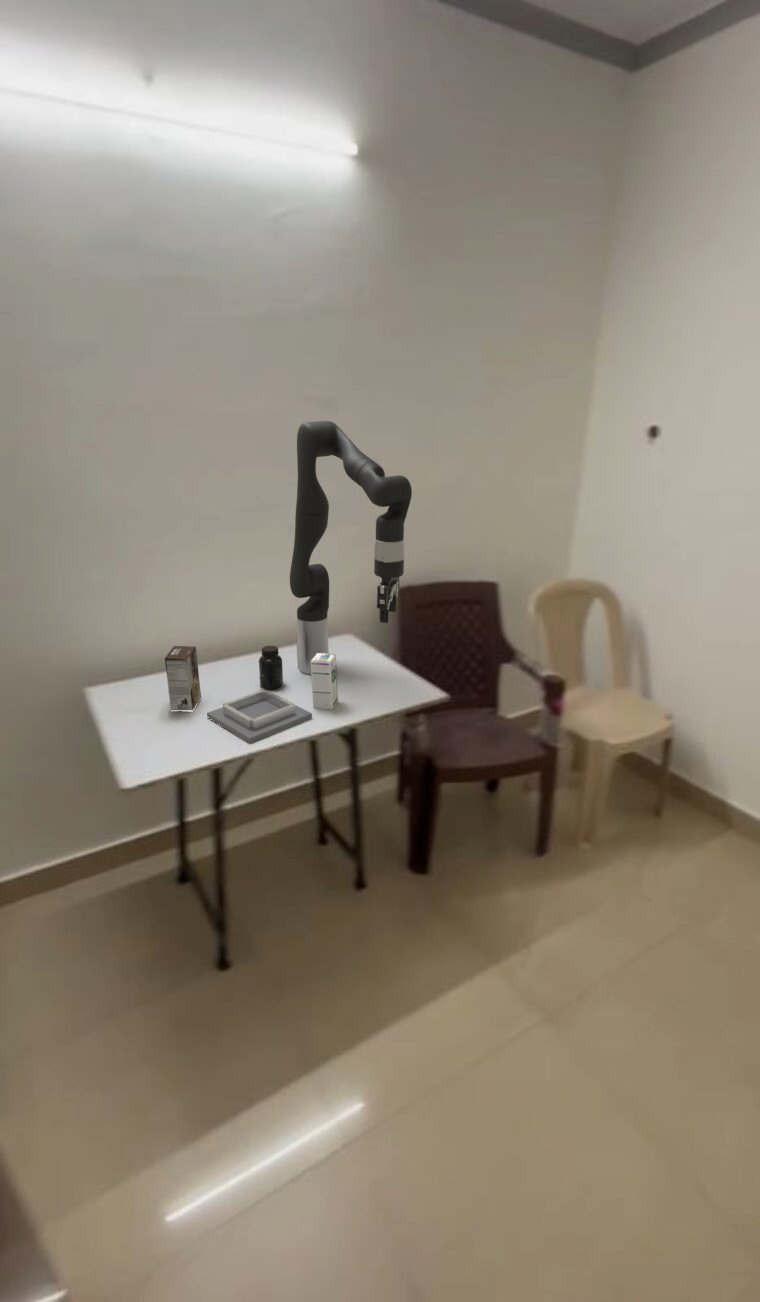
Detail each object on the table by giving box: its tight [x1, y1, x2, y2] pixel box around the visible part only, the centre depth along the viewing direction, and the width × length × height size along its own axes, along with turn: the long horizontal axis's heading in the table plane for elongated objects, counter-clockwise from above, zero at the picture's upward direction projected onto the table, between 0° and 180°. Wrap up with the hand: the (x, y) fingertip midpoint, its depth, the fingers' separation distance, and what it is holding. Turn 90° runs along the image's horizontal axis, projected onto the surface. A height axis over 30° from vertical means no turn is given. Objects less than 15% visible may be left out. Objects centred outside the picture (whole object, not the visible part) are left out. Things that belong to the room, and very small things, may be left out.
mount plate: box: [206, 700, 313, 744], centre depth 196 cm, size 20×20×2 cm
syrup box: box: [310, 653, 339, 710], centre depth 201 cm, size 6×6×14 cm
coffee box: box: [164, 645, 202, 711], centre depth 200 cm, size 9×6×16 cm
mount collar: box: [222, 689, 296, 730], centre depth 195 cm, size 14×14×2 cm
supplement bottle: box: [258, 645, 284, 691], centre depth 213 cm, size 7×7×12 cm
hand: (388, 616), depth 190 cm, fingers open, 8 cm apart
